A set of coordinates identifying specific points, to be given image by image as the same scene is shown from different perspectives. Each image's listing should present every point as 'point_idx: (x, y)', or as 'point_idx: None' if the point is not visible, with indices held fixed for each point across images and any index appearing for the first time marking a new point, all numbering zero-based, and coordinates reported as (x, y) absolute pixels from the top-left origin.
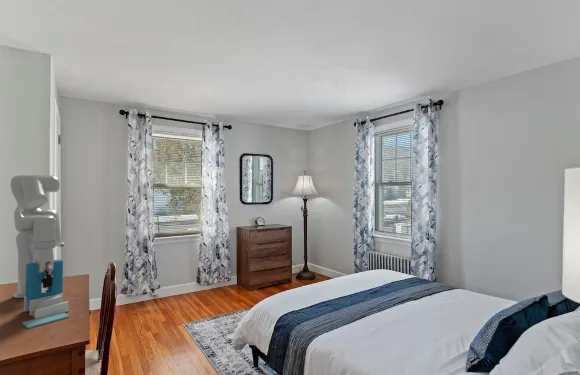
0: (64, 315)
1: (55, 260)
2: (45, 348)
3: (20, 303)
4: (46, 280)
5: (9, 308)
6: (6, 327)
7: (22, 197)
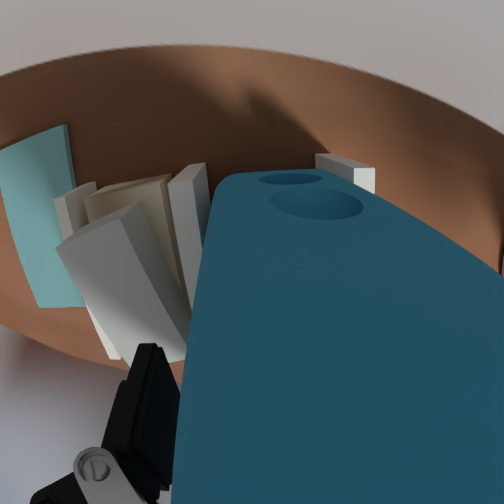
0: (50, 296)
1: None
2: None
3: (476, 180)
4: (108, 431)
5: (443, 118)
6: (76, 58)
7: None
